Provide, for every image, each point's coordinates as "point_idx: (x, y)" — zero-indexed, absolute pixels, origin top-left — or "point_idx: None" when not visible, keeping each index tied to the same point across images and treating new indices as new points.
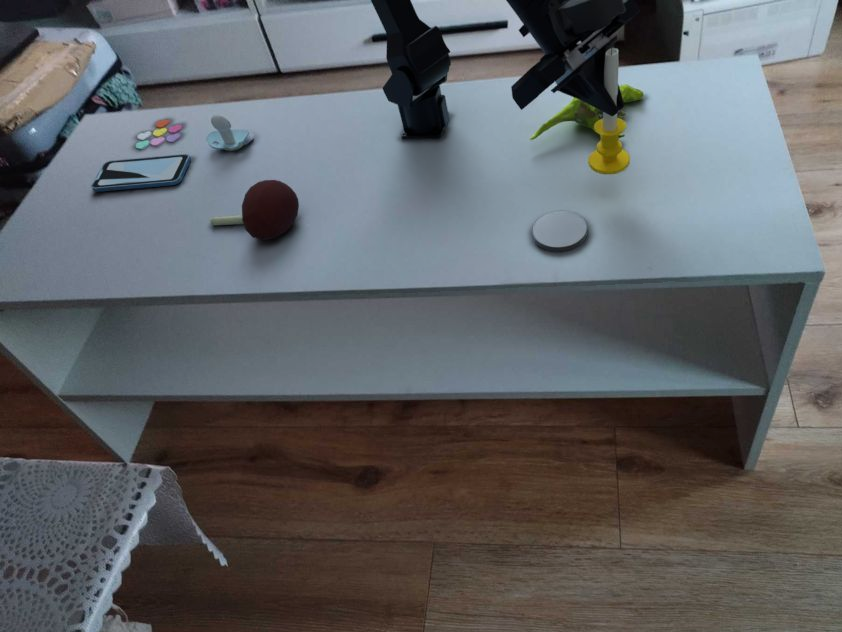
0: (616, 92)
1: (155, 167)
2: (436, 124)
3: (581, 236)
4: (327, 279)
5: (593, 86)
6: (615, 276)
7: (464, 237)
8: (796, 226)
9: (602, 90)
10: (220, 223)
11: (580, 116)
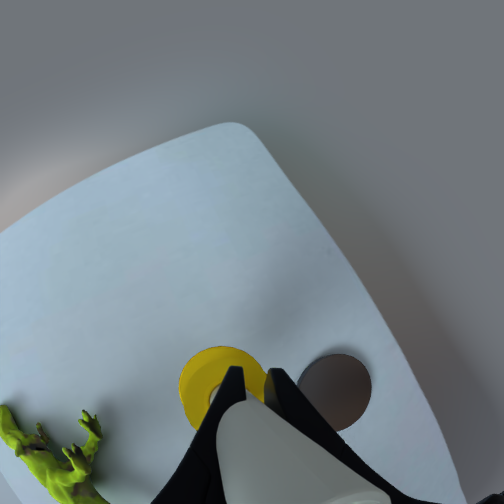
0: (253, 403)
1: None
2: None
3: (337, 357)
4: (455, 498)
5: (368, 471)
6: (360, 282)
7: (384, 476)
8: (184, 140)
9: (328, 441)
10: None
11: (90, 488)
